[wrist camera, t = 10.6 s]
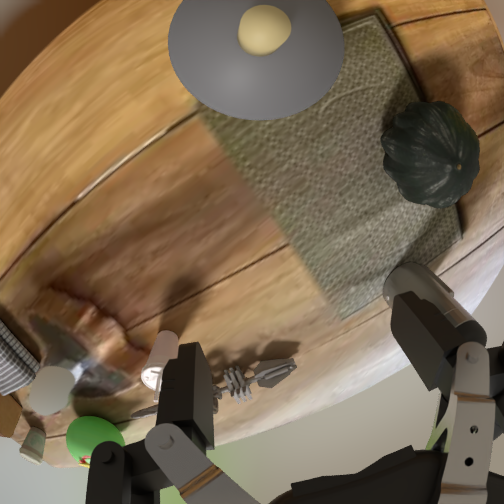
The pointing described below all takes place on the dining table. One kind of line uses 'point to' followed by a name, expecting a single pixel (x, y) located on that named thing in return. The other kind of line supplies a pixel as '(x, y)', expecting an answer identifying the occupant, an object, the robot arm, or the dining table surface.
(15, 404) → the bread
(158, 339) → the smoothie
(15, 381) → the towel
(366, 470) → the robot arm
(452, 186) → the squash
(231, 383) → the spaceship
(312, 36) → the lid
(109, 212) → the dining table surface
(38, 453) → the coffee cup
